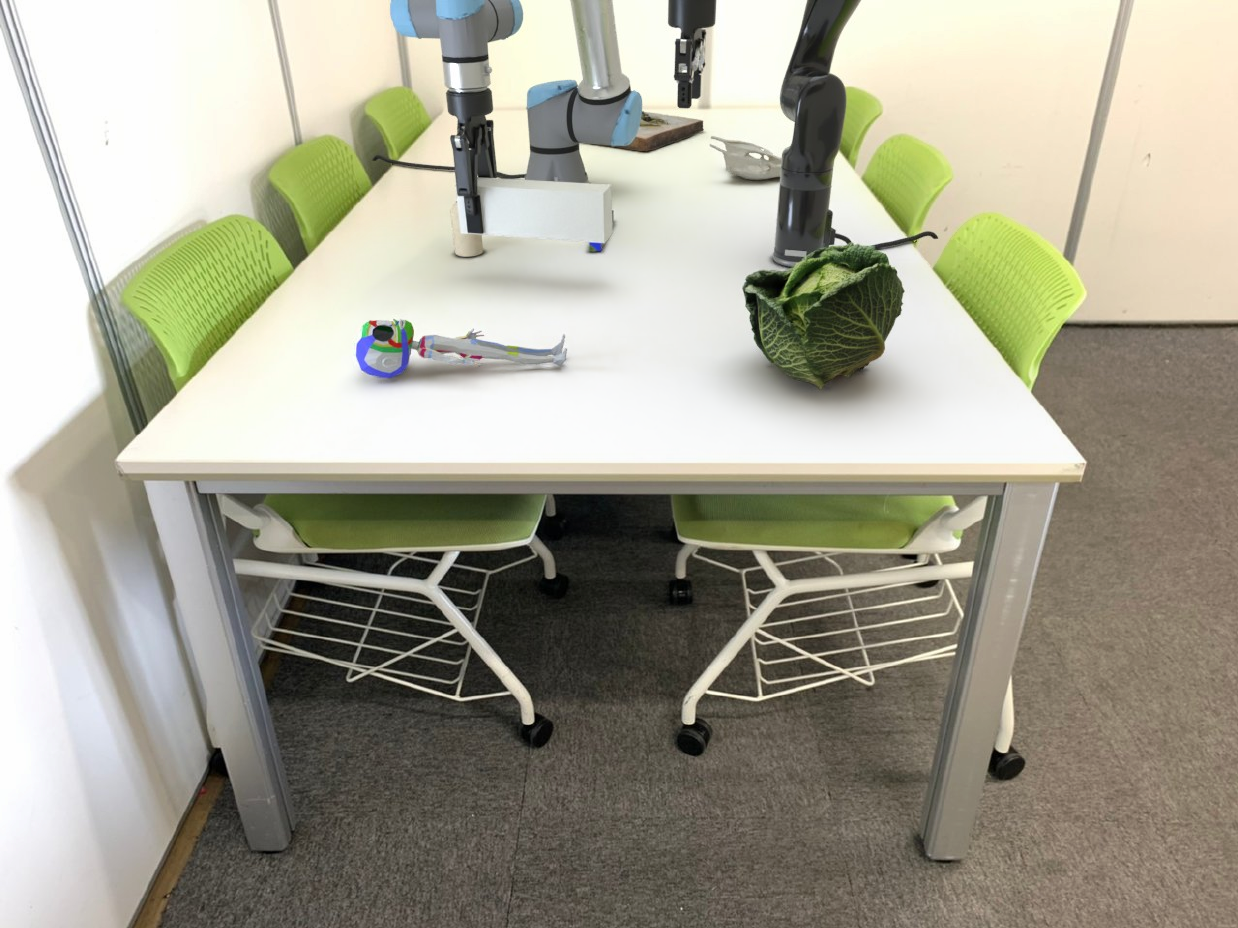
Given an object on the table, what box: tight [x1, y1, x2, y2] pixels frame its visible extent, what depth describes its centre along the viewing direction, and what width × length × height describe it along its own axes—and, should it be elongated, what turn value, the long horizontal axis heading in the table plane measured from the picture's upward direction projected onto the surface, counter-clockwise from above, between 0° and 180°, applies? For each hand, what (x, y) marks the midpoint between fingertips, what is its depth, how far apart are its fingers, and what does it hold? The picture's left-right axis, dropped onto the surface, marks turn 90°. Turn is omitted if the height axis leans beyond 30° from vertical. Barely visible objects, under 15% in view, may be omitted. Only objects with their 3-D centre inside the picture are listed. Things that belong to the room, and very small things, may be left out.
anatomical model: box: [709, 135, 782, 181], centre depth 217 cm, size 15×9×25 cm
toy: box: [353, 318, 568, 379], centre depth 130 cm, size 10×8×30 cm
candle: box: [449, 200, 484, 258], centre depth 172 cm, size 6×6×10 cm
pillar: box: [588, 209, 615, 252], centre depth 182 cm, size 2×2×20 cm
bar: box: [454, 176, 613, 244], centre depth 156 cm, size 26×5×8 cm, turn 76°
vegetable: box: [742, 241, 906, 390], centre depth 125 cm, size 20×19×20 cm
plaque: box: [597, 110, 705, 152], centre depth 257 cm, size 30×7×30 cm
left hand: (482, 227), depth 160 cm, fingers closed on bar, 5 cm apart
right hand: (689, 103), depth 148 cm, fingers open, 8 cm apart
